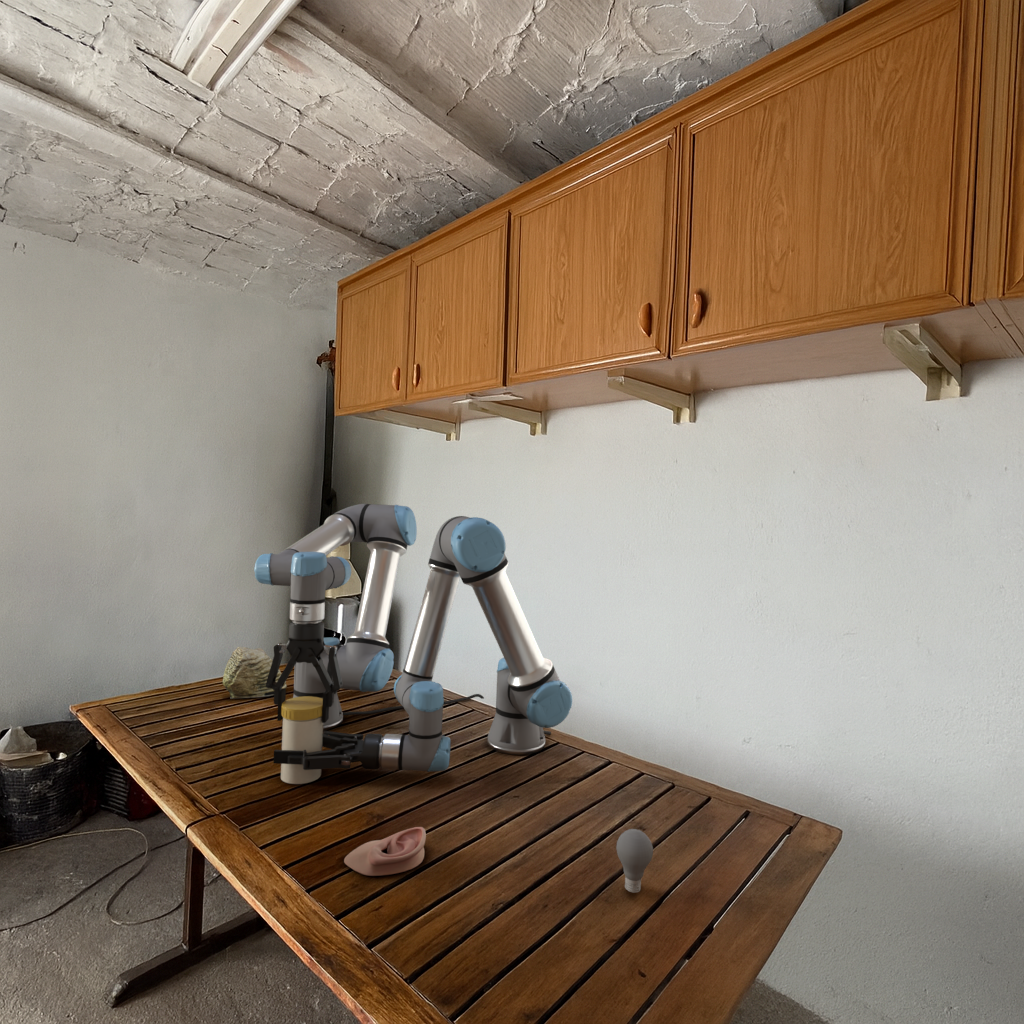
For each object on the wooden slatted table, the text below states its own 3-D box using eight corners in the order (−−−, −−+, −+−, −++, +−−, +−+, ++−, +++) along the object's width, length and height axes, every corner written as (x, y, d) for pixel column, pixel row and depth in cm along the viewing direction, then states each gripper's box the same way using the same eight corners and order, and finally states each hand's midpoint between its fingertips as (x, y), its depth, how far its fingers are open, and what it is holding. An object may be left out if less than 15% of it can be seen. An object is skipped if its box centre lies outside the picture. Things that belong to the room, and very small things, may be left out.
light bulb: (610, 879, 108) (613, 822, 108) (644, 879, 109) (647, 822, 109) (619, 902, 102) (622, 840, 102) (655, 901, 103) (658, 840, 103)
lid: (331, 715, 142) (332, 705, 142) (289, 723, 136) (289, 712, 136) (316, 704, 150) (316, 693, 150) (275, 710, 144) (275, 700, 144)
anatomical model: (336, 847, 108) (365, 815, 119) (335, 870, 108) (364, 836, 119) (410, 859, 105) (432, 825, 116) (409, 883, 105) (431, 846, 116)
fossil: (218, 695, 195) (220, 647, 195) (278, 685, 208) (279, 640, 207) (228, 703, 189) (230, 653, 188) (289, 692, 201) (290, 645, 201)
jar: (290, 787, 137) (293, 714, 137) (274, 774, 144) (276, 704, 143) (328, 777, 143) (331, 707, 143) (310, 764, 150) (313, 697, 149)
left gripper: (251, 622, 139) (247, 723, 139) (351, 626, 139) (347, 727, 140) (264, 615, 146) (260, 712, 147) (359, 619, 147) (355, 715, 147)
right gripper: (371, 789, 133) (263, 786, 132) (389, 749, 154) (296, 746, 154) (372, 754, 133) (264, 750, 132) (390, 718, 154) (297, 715, 154)
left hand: (303, 719), depth 143 cm, fingers closed on lid, 9 cm apart
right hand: (281, 748), depth 143 cm, fingers closed on jar, 9 cm apart
